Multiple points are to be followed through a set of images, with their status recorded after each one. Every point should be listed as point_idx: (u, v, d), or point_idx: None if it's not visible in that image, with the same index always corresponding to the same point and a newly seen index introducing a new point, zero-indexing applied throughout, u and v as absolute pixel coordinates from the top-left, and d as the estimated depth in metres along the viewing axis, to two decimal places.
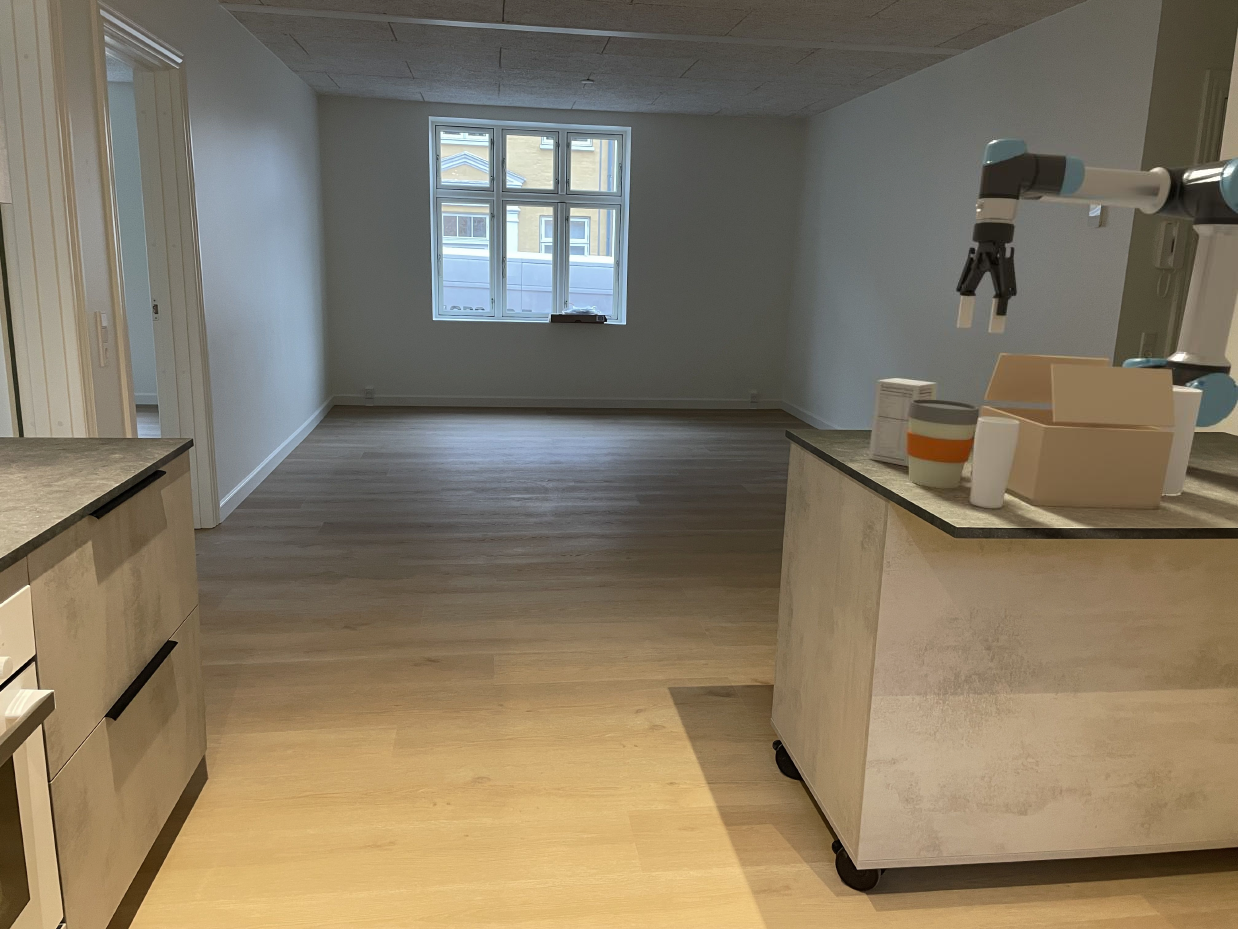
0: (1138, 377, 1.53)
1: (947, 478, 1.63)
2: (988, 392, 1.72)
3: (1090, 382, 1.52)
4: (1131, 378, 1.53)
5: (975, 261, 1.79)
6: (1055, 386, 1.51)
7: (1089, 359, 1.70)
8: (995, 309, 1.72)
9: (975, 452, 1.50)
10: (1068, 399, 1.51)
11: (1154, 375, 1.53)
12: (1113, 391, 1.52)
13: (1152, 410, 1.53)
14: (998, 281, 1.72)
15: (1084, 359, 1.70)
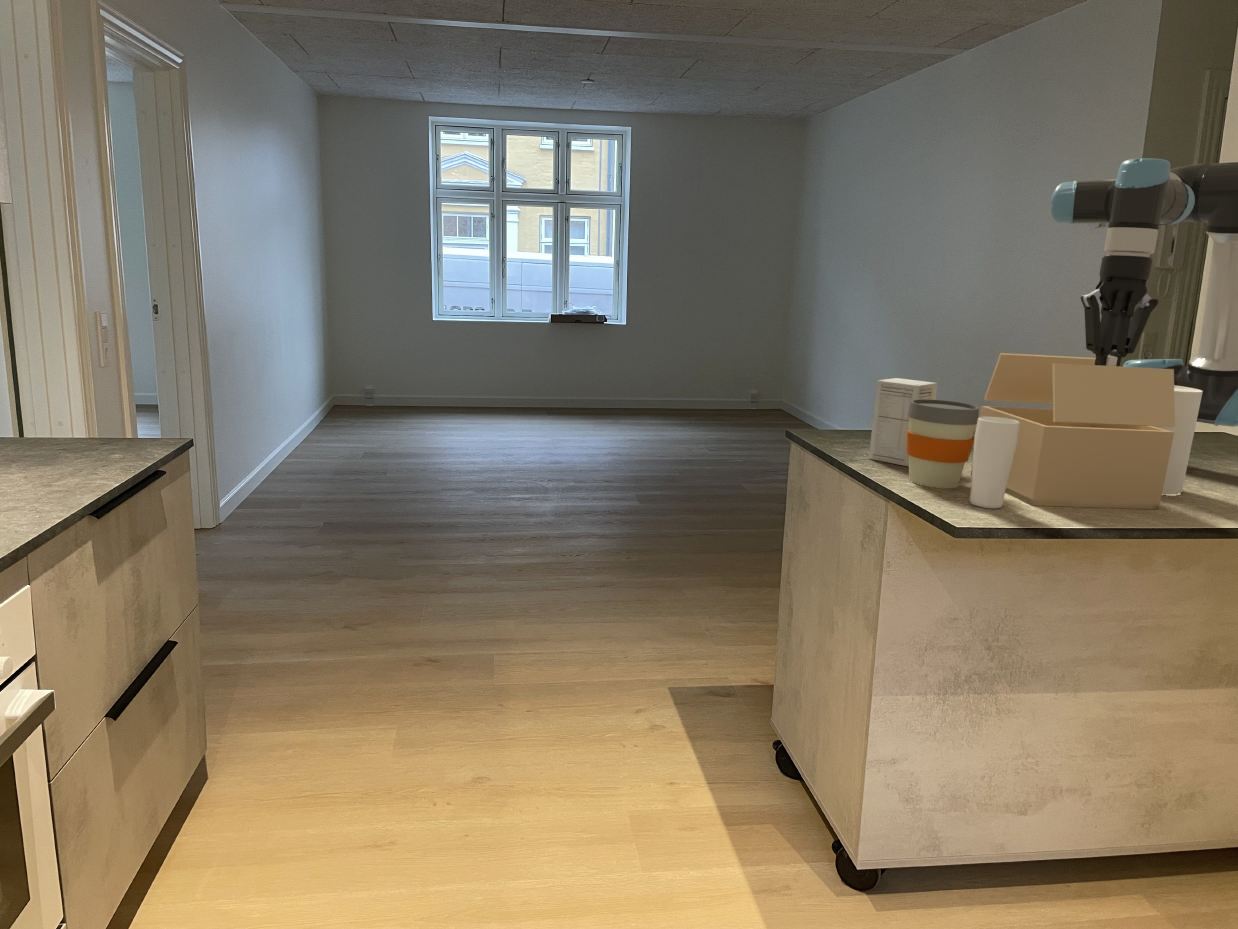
0: (1140, 377, 1.53)
1: (947, 478, 1.63)
2: (988, 392, 1.72)
3: (1091, 382, 1.52)
4: (1132, 378, 1.52)
5: None
6: (1056, 386, 1.51)
7: (1089, 359, 1.70)
8: None
9: (975, 452, 1.50)
10: (1068, 399, 1.51)
11: (1155, 375, 1.53)
12: (1114, 391, 1.52)
13: (1152, 410, 1.52)
14: None
15: (1084, 359, 1.70)
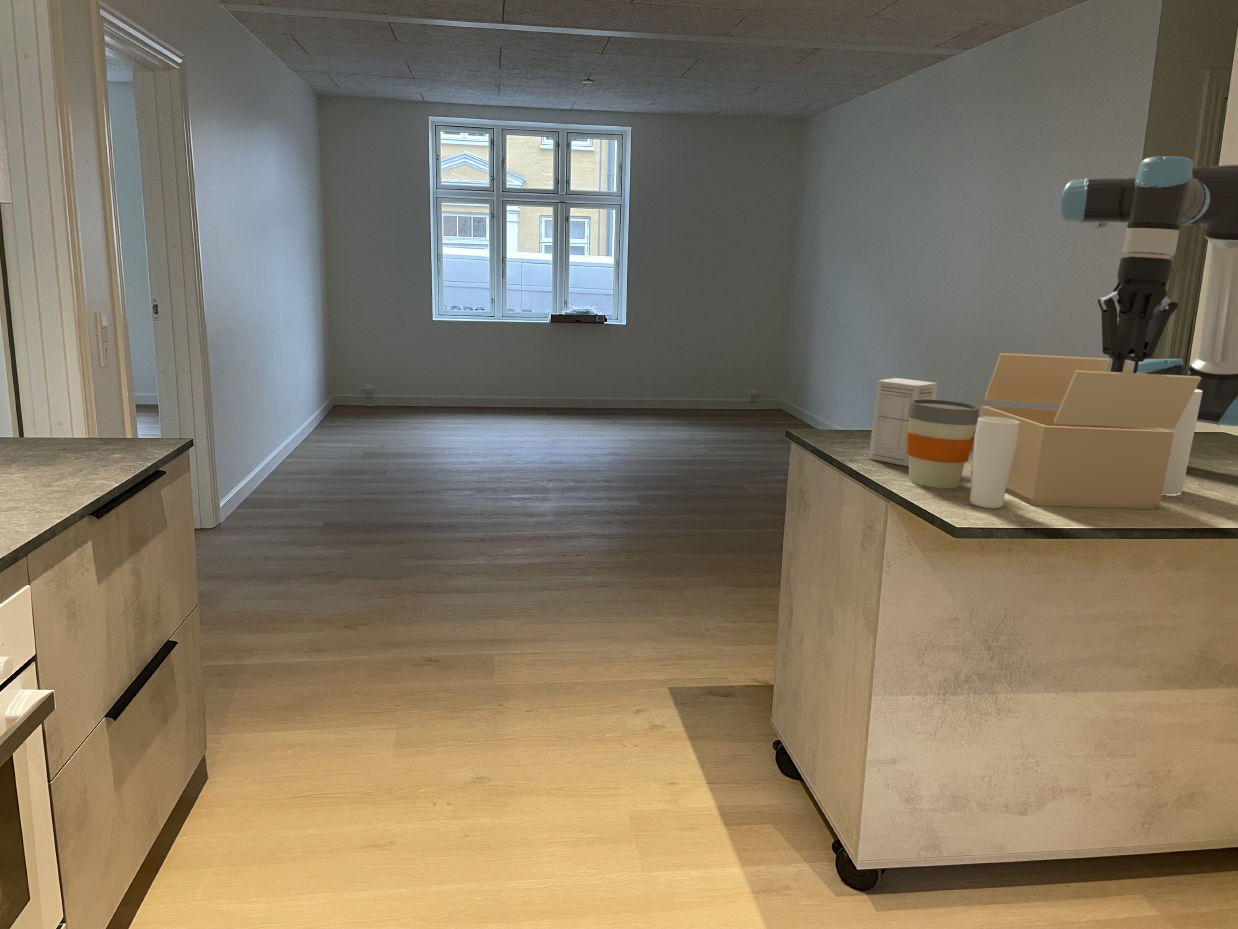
0: (1161, 385, 1.47)
1: (947, 478, 1.63)
2: (988, 392, 1.72)
3: (1108, 389, 1.47)
4: (1153, 386, 1.47)
5: None
6: (1070, 392, 1.47)
7: (1089, 359, 1.70)
8: None
9: (975, 452, 1.50)
10: (1077, 404, 1.48)
11: (1179, 383, 1.47)
12: (1128, 397, 1.48)
13: (1158, 414, 1.51)
14: None
15: (1084, 359, 1.70)
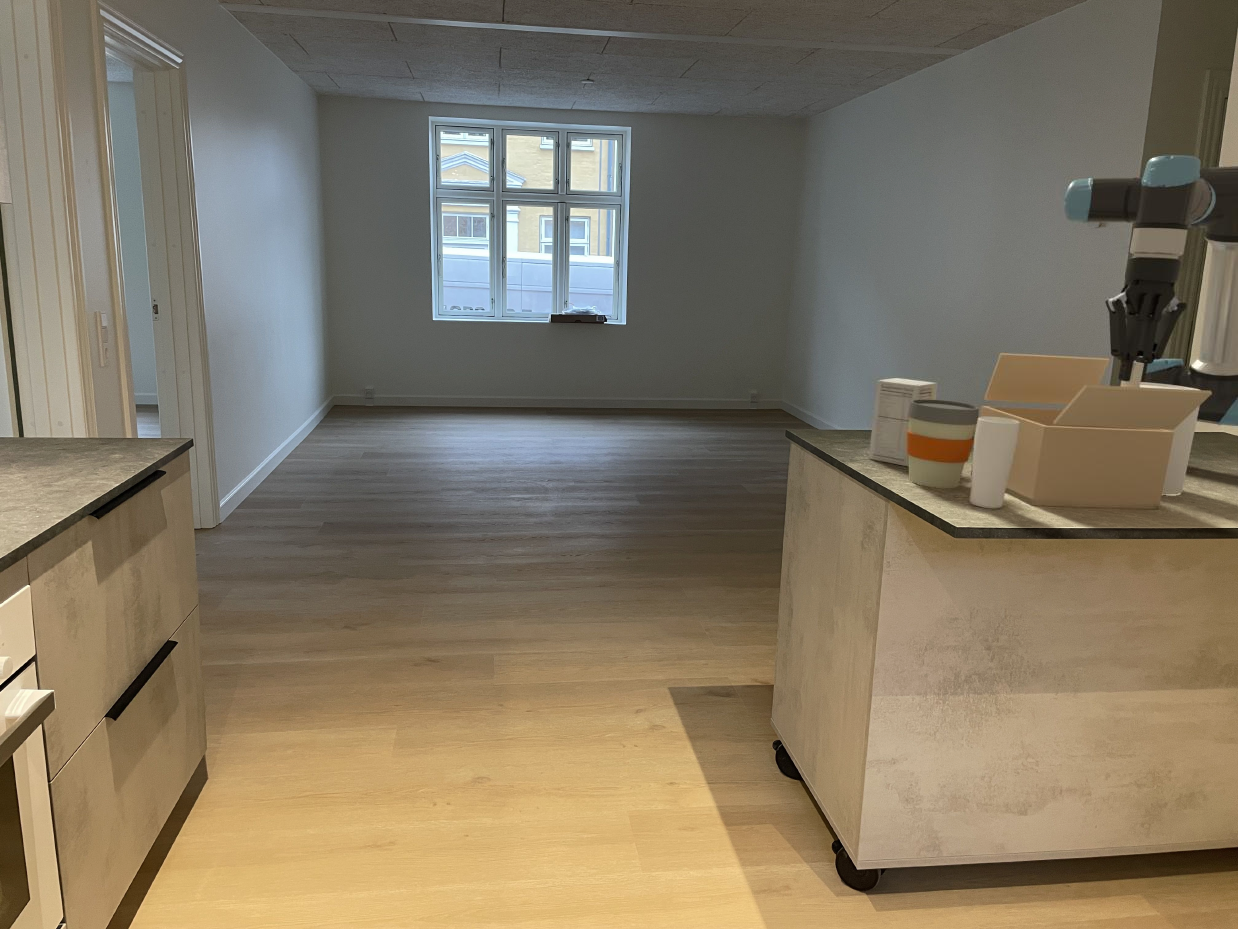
0: (1169, 398, 1.45)
1: (947, 478, 1.63)
2: (988, 392, 1.72)
3: (1114, 400, 1.46)
4: (1161, 398, 1.45)
5: None
6: (1075, 402, 1.46)
7: (1089, 359, 1.70)
8: None
9: (975, 452, 1.50)
10: (1080, 411, 1.48)
11: (1187, 397, 1.45)
12: (1133, 407, 1.47)
13: (1161, 419, 1.50)
14: None
15: (1084, 359, 1.70)
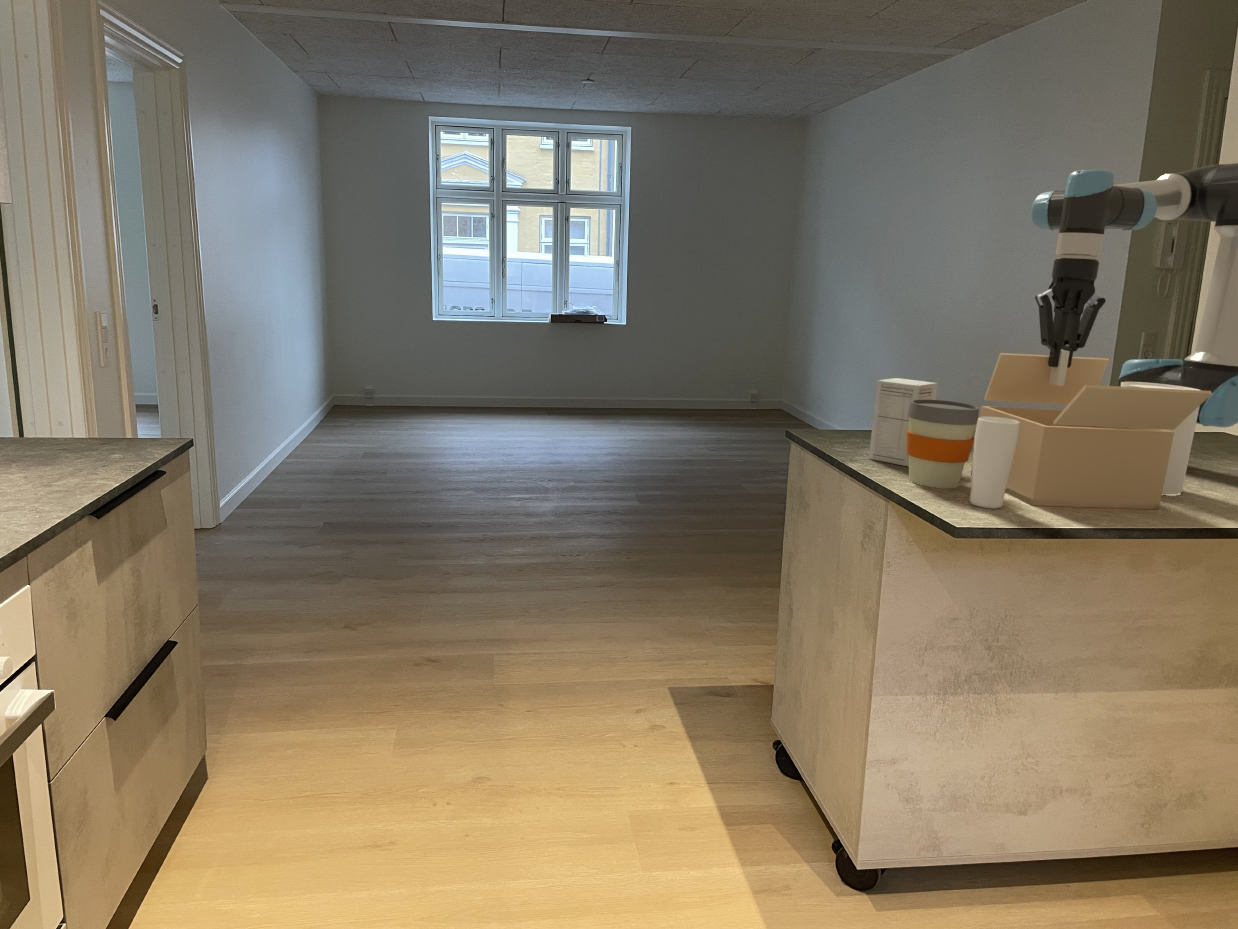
0: (1169, 398, 1.45)
1: (947, 478, 1.63)
2: (988, 392, 1.72)
3: (1114, 401, 1.45)
4: (1161, 399, 1.45)
5: None
6: (1075, 402, 1.46)
7: (1089, 359, 1.70)
8: None
9: (975, 452, 1.50)
10: (1080, 411, 1.48)
11: (1187, 397, 1.45)
12: (1133, 407, 1.47)
13: (1161, 419, 1.50)
14: None
15: (1084, 359, 1.70)
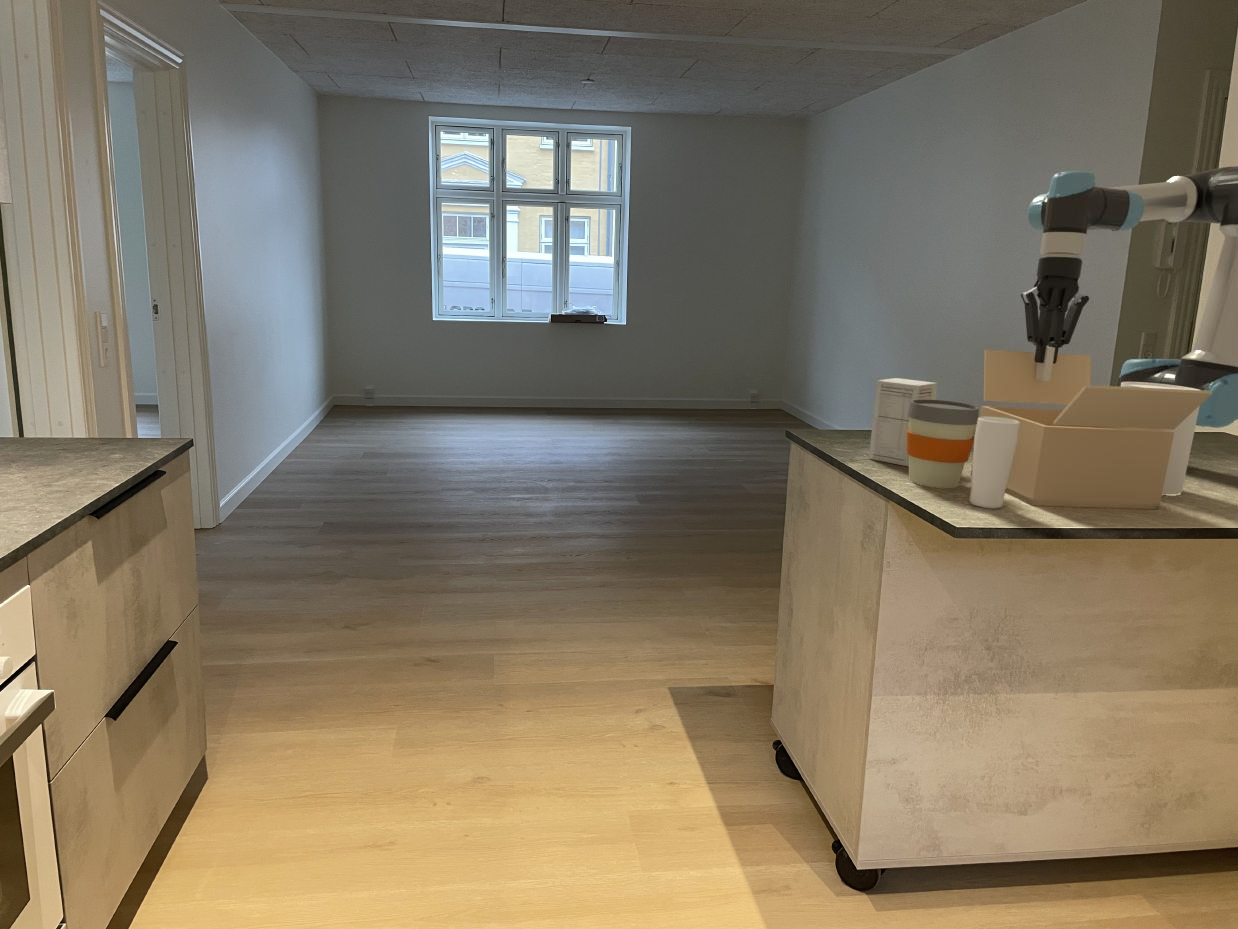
0: (1169, 398, 1.45)
1: (947, 478, 1.63)
2: (985, 391, 1.73)
3: (1114, 401, 1.45)
4: (1161, 399, 1.45)
5: None
6: (1075, 402, 1.46)
7: (1071, 355, 1.76)
8: None
9: (975, 452, 1.50)
10: (1080, 411, 1.48)
11: (1187, 397, 1.45)
12: (1133, 407, 1.47)
13: (1161, 419, 1.50)
14: (1038, 327, 1.72)
15: (1066, 354, 1.75)
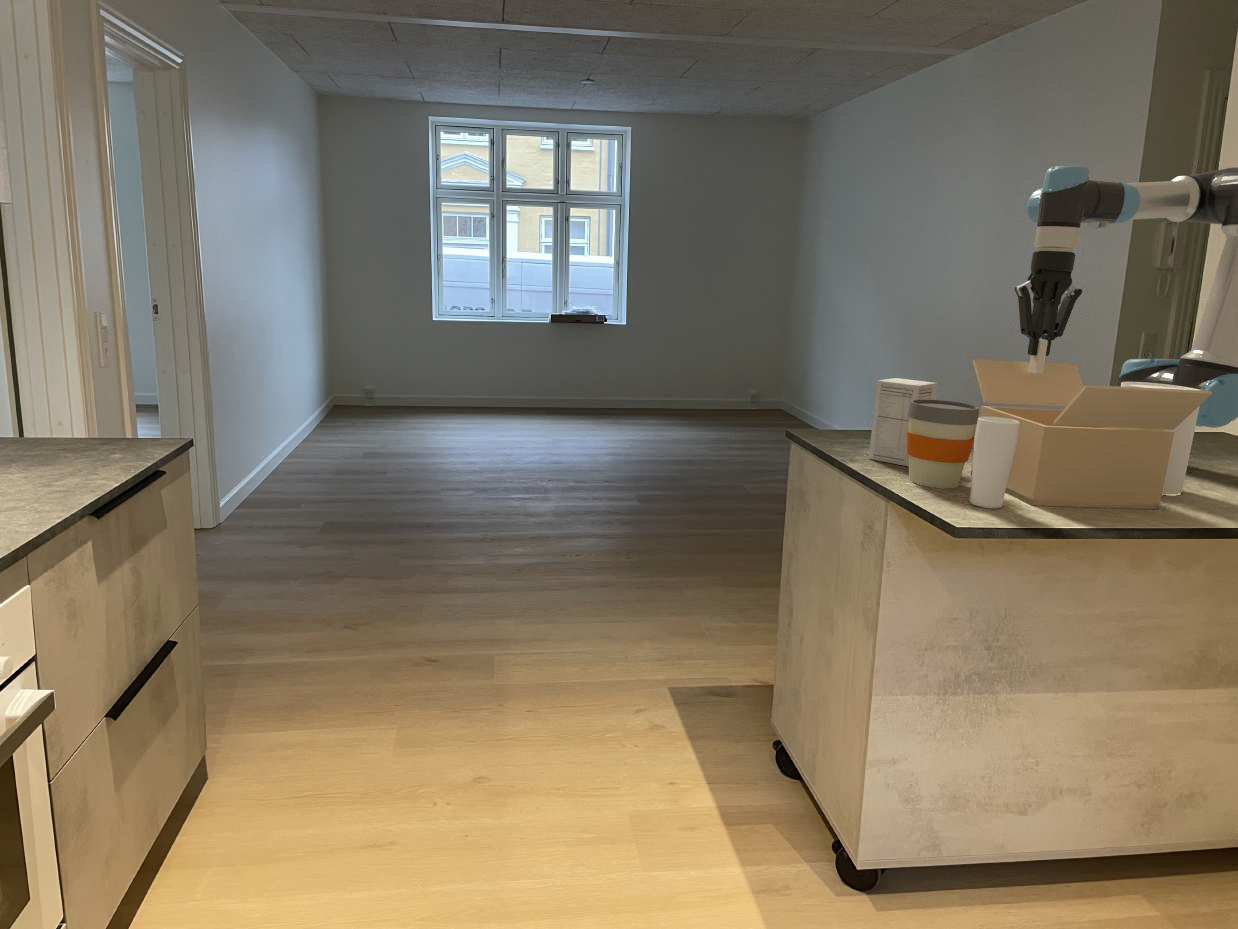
0: (1169, 398, 1.45)
1: (947, 478, 1.63)
2: (983, 393, 1.74)
3: (1114, 401, 1.45)
4: (1161, 399, 1.45)
5: None
6: (1075, 402, 1.46)
7: (1057, 364, 1.80)
8: None
9: (975, 452, 1.50)
10: (1080, 411, 1.48)
11: (1187, 397, 1.45)
12: (1133, 407, 1.47)
13: (1161, 419, 1.50)
14: (1032, 320, 1.74)
15: (1052, 363, 1.80)
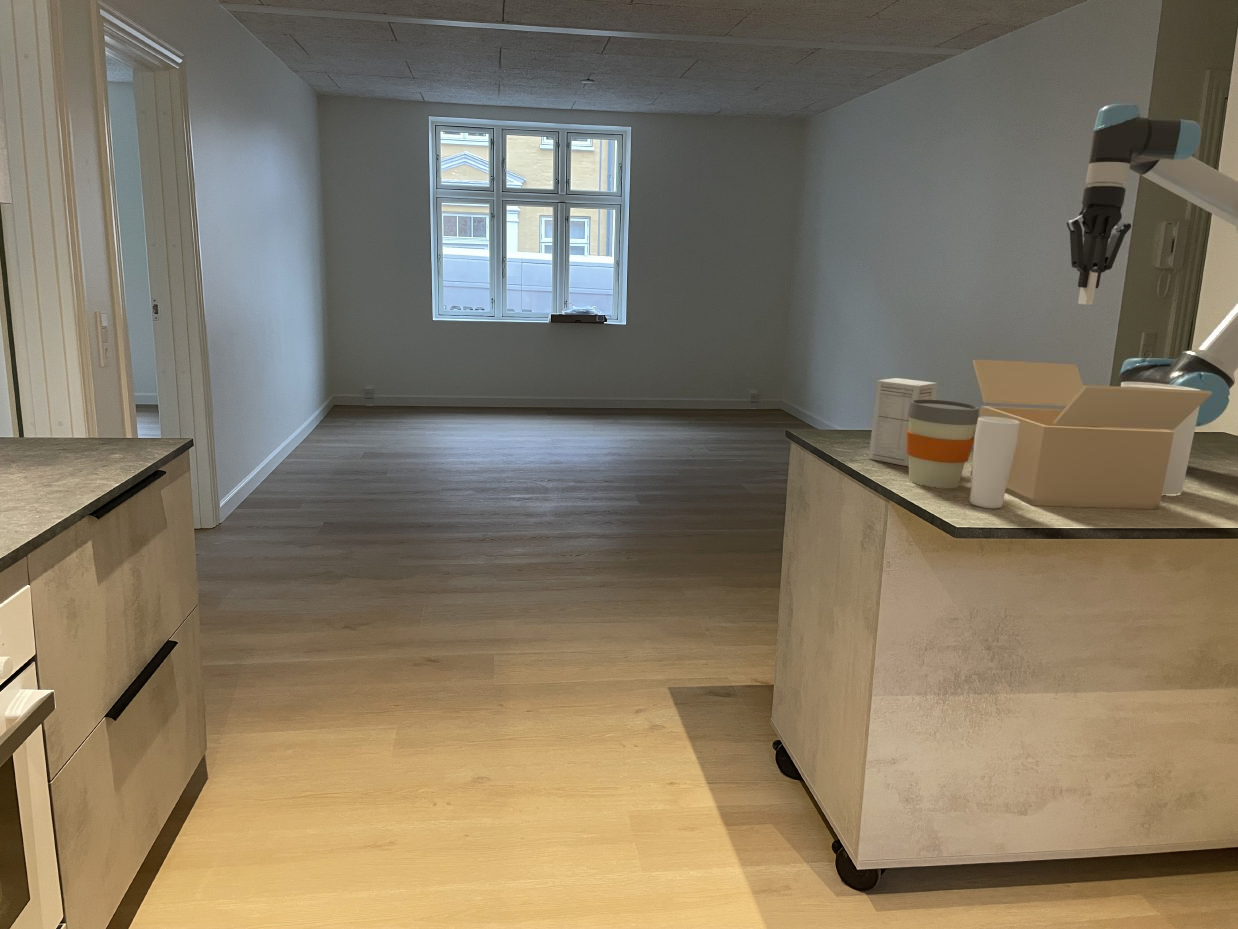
0: (1169, 398, 1.45)
1: (947, 478, 1.63)
2: (983, 393, 1.74)
3: (1114, 401, 1.45)
4: (1161, 399, 1.45)
5: None
6: (1075, 402, 1.46)
7: (1057, 364, 1.80)
8: None
9: (975, 452, 1.50)
10: (1080, 411, 1.48)
11: (1187, 397, 1.45)
12: (1133, 407, 1.47)
13: (1161, 419, 1.50)
14: None
15: (1052, 363, 1.80)
